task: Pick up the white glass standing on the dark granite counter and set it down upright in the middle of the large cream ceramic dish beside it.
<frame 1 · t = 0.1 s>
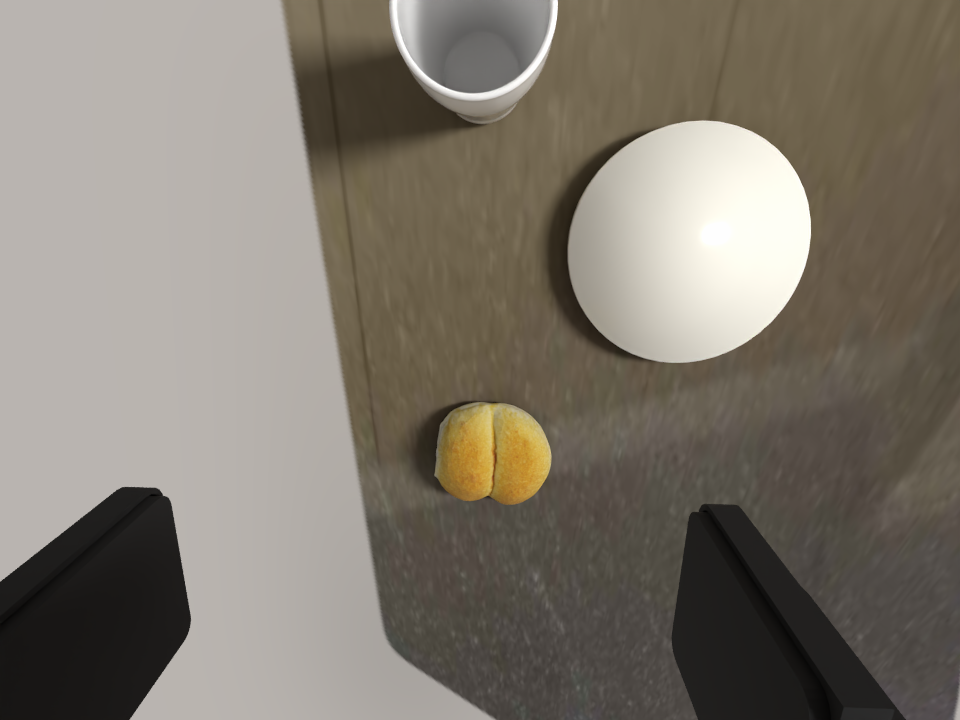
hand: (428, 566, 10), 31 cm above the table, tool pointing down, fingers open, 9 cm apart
cream dish: (681, 247, 38), on the table
bread roll: (490, 447, 44), on the table
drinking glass: (482, 81, 36), on the table
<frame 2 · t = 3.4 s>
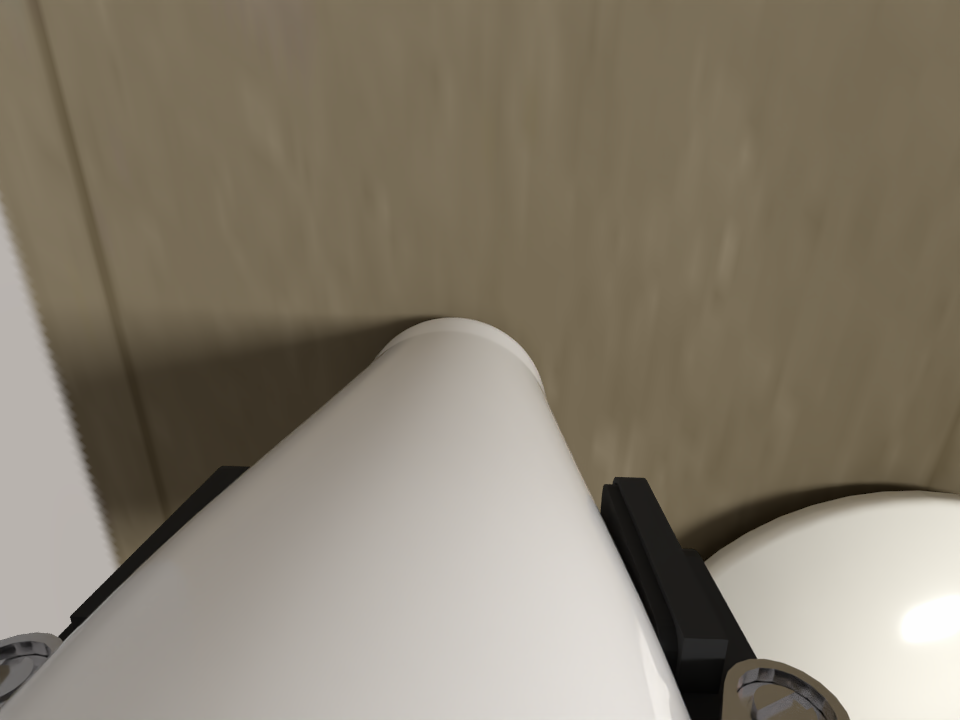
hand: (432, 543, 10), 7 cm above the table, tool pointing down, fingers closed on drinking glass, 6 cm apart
cream dish: (849, 681, 19), on the table
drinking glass: (456, 395, 17), on the table, touching gripper
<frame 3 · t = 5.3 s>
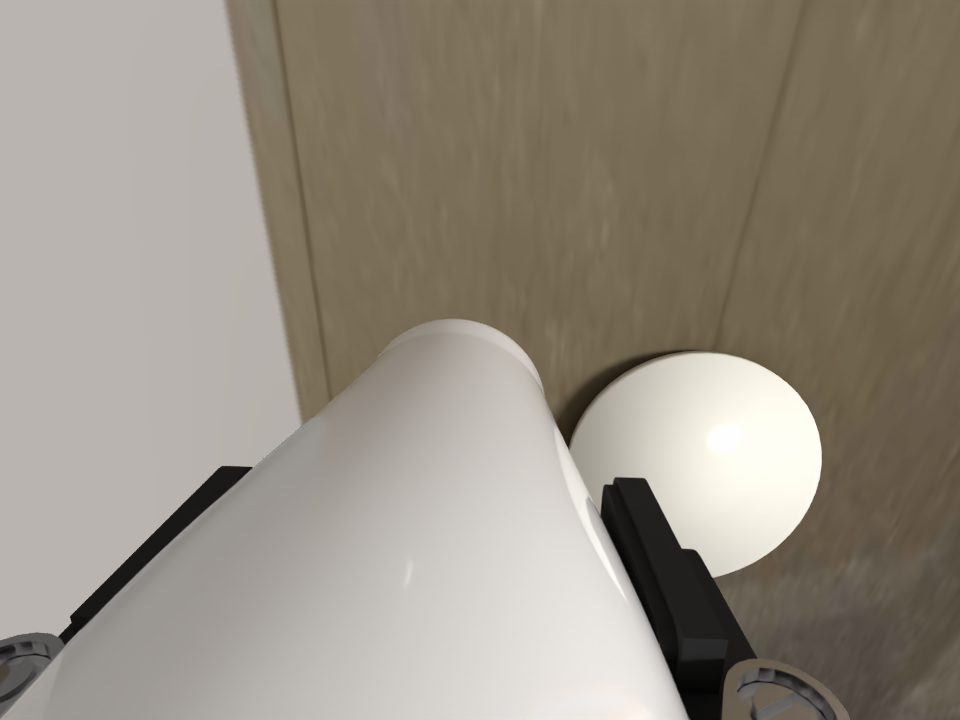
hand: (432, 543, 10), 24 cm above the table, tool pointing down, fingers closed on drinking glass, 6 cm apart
cream dish: (685, 464, 37), on the table
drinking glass: (456, 396, 17), point 18 cm above the table, touching gripper
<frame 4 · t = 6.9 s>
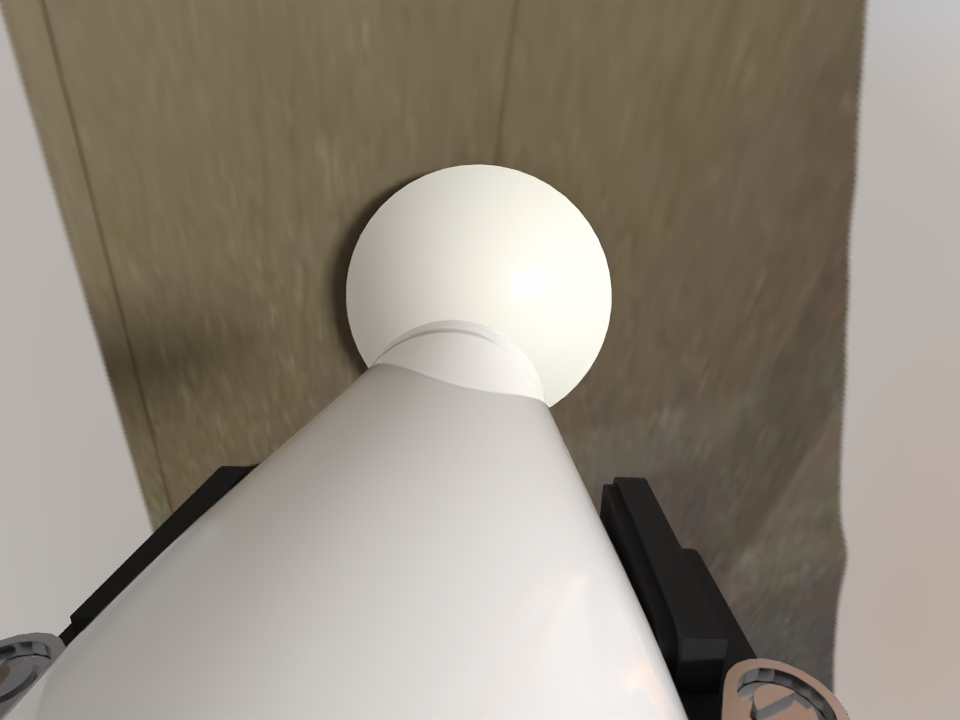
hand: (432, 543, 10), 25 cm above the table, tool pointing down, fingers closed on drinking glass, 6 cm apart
cream dish: (478, 300, 35), on the table
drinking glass: (456, 397, 17), point 18 cm above the table, touching gripper
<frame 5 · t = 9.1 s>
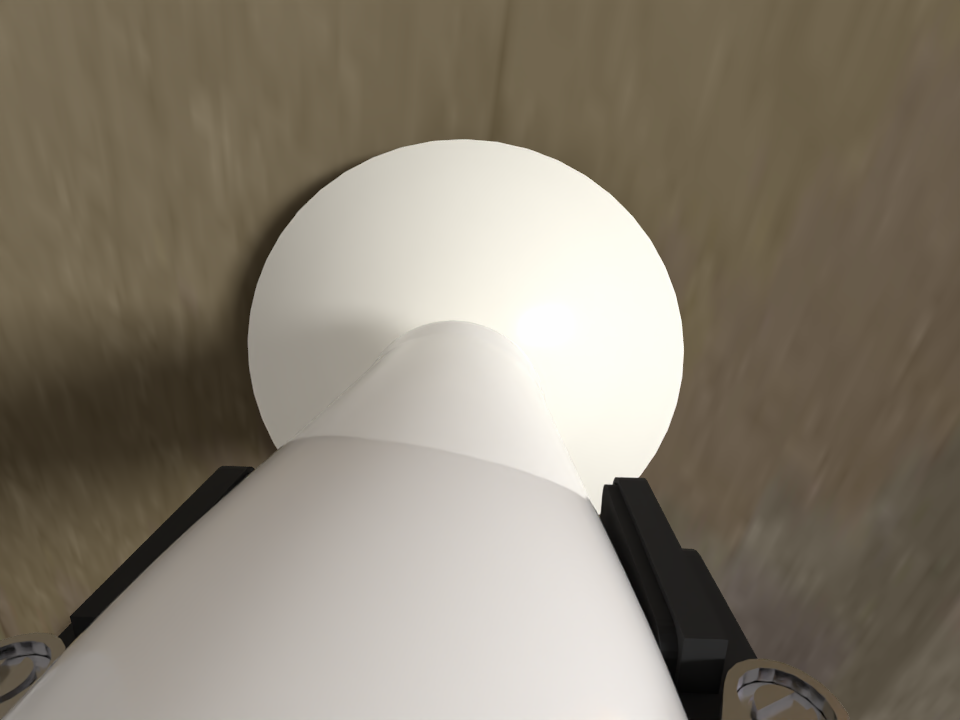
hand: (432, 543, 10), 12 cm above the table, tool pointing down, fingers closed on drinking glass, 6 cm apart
cream dish: (465, 360, 22), on the table
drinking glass: (456, 398, 17), point 5 cm above the table, touching gripper
when the fingers open (9 cm above the table, at t = 10.7 s): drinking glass stays where it is, resting on cream dish.
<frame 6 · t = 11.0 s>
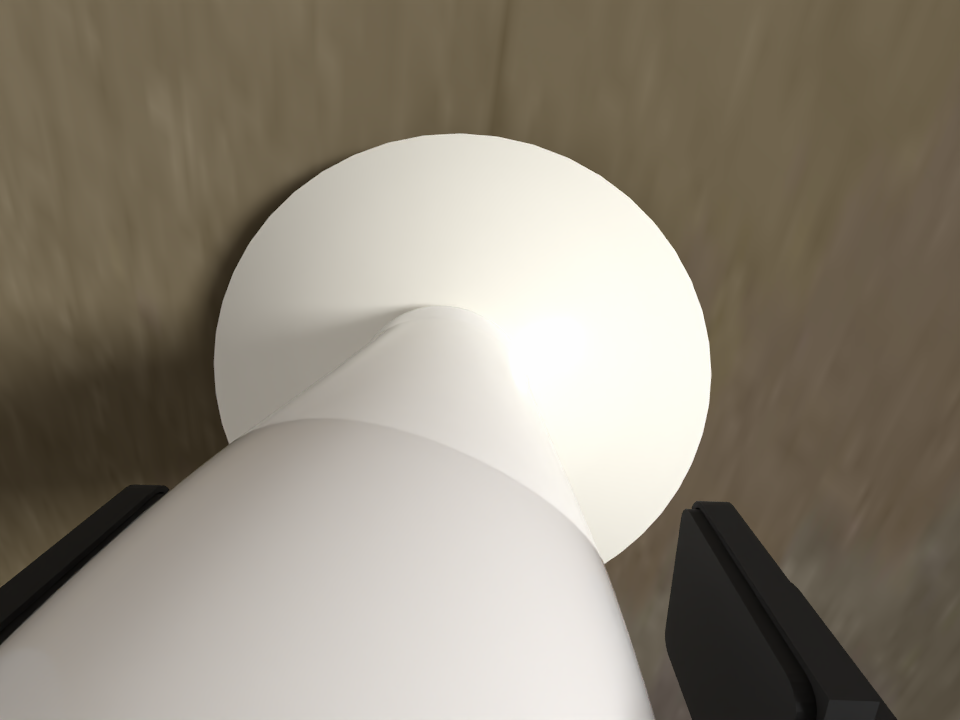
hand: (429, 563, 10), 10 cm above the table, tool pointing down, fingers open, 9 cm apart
cream dish: (462, 383, 19), on the table
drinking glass: (445, 380, 18), point 1 cm above the table, touching cream dish
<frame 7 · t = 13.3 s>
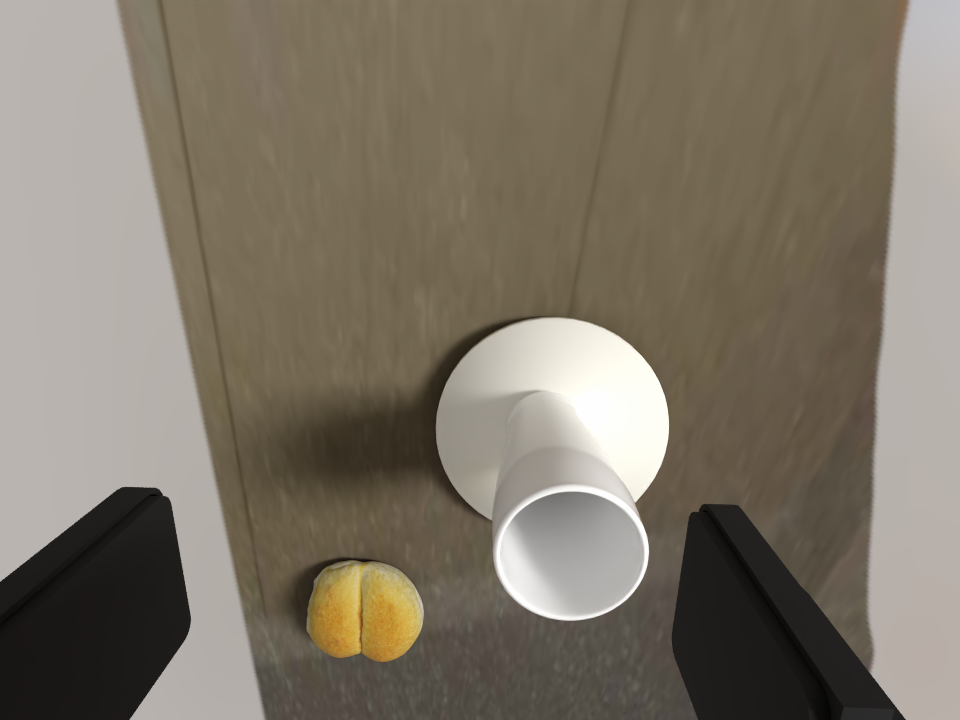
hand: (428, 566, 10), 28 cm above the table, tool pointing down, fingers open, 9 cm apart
cream dish: (549, 425, 39), on the table
bread roll: (367, 599, 44), on the table
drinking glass: (544, 424, 38), point 1 cm above the table, touching cream dish
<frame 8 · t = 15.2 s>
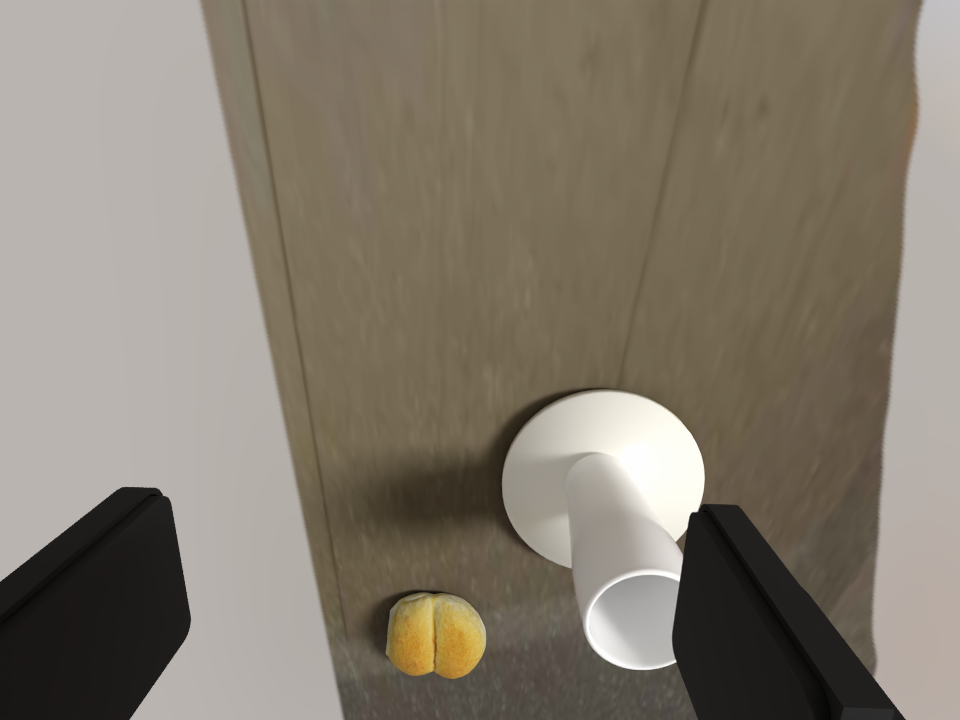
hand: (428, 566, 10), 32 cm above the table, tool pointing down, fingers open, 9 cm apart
cream dish: (599, 477, 45), on the table
bread roll: (435, 623, 51), on the table
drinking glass: (596, 479, 44), point 1 cm above the table, touching cream dish
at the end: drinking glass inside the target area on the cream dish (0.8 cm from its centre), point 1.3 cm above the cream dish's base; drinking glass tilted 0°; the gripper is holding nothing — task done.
